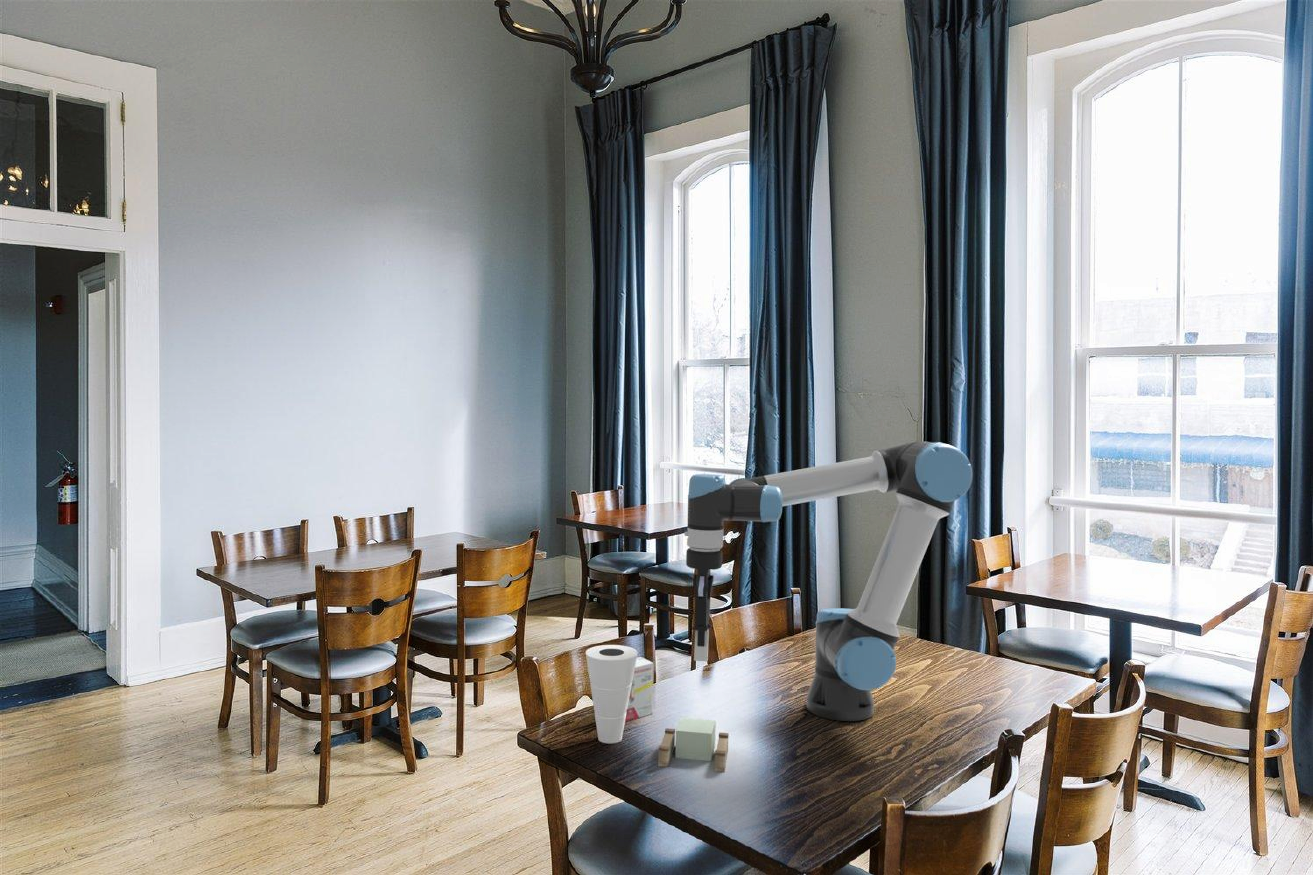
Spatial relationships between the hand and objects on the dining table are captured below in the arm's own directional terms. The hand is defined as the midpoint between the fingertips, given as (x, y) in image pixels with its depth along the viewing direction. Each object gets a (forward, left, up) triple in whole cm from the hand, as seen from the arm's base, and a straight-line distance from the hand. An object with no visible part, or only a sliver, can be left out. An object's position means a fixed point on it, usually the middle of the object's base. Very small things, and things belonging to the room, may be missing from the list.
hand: (700, 659), depth 177 cm
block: (0, +10, -16) cm, 19 cm away
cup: (+18, +7, -16) cm, 25 cm away
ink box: (+16, -7, -16) cm, 23 cm away
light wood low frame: (0, +13, -16) cm, 20 cm away
